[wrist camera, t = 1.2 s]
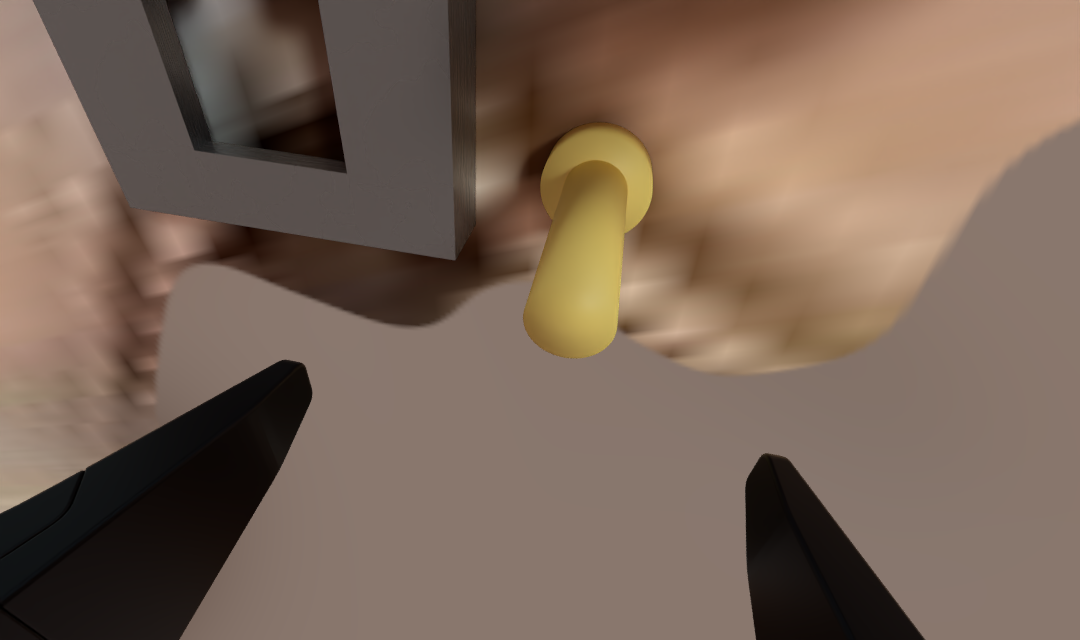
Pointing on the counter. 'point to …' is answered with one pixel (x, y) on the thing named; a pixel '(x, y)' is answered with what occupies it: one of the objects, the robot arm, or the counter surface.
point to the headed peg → (586, 237)
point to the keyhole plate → (279, 177)
